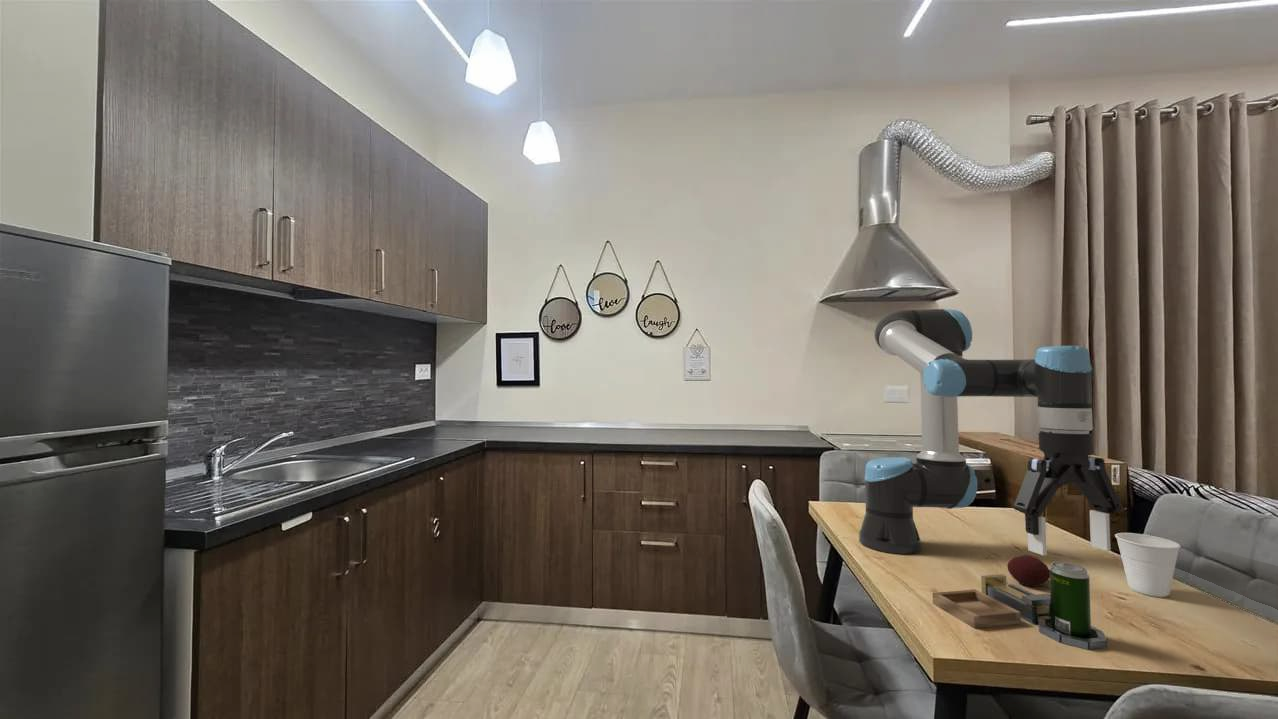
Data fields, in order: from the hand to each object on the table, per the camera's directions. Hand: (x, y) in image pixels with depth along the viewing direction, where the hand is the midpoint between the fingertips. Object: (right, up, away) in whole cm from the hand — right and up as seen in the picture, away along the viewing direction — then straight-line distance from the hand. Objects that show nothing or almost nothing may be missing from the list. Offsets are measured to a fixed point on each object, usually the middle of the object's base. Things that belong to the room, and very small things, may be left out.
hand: (1069, 550), depth 88 cm
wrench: (-1, -15, +4) cm, 16 cm away
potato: (+10, -16, +22) cm, 29 cm away
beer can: (0, -15, 0) cm, 15 cm away
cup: (+32, -16, +18) cm, 40 cm away
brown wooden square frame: (-12, -15, +8) cm, 21 cm away
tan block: (-2, -15, +10) cm, 18 cm away
